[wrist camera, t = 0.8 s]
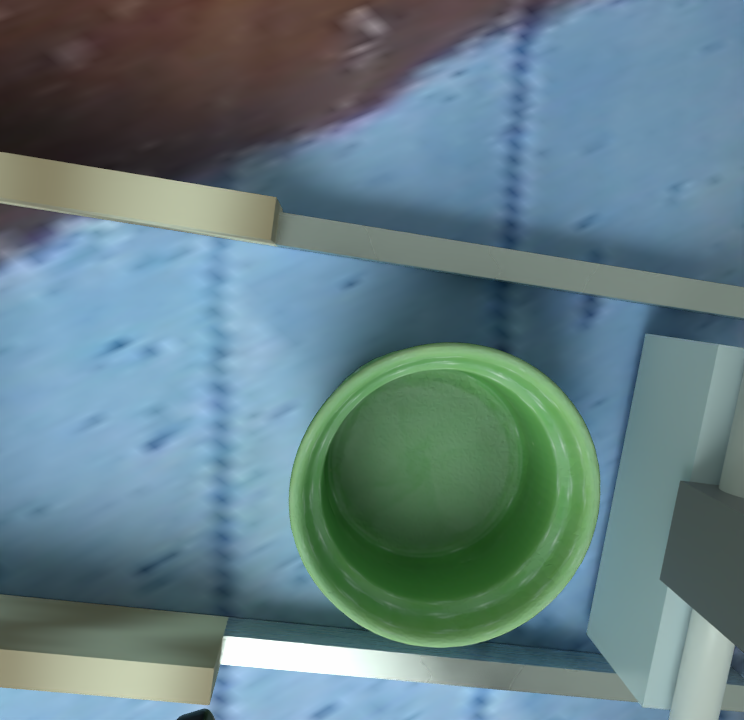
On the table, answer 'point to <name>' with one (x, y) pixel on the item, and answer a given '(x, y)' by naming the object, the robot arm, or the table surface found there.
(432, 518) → the ramekin
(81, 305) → the table surface
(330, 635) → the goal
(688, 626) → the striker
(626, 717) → the table surface
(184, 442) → the table surface
